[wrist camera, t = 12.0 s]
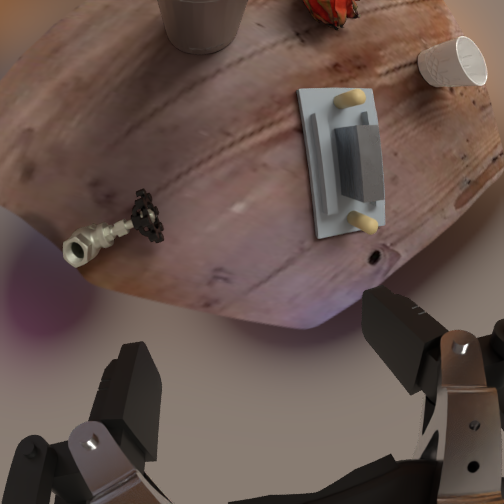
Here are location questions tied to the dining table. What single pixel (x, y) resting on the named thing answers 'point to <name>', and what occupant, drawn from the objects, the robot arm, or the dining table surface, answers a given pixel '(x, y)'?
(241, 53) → the dining table surface
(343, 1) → the dragon fruit
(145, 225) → the valve
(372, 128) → the gray rectangular block
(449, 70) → the white cup
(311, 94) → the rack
